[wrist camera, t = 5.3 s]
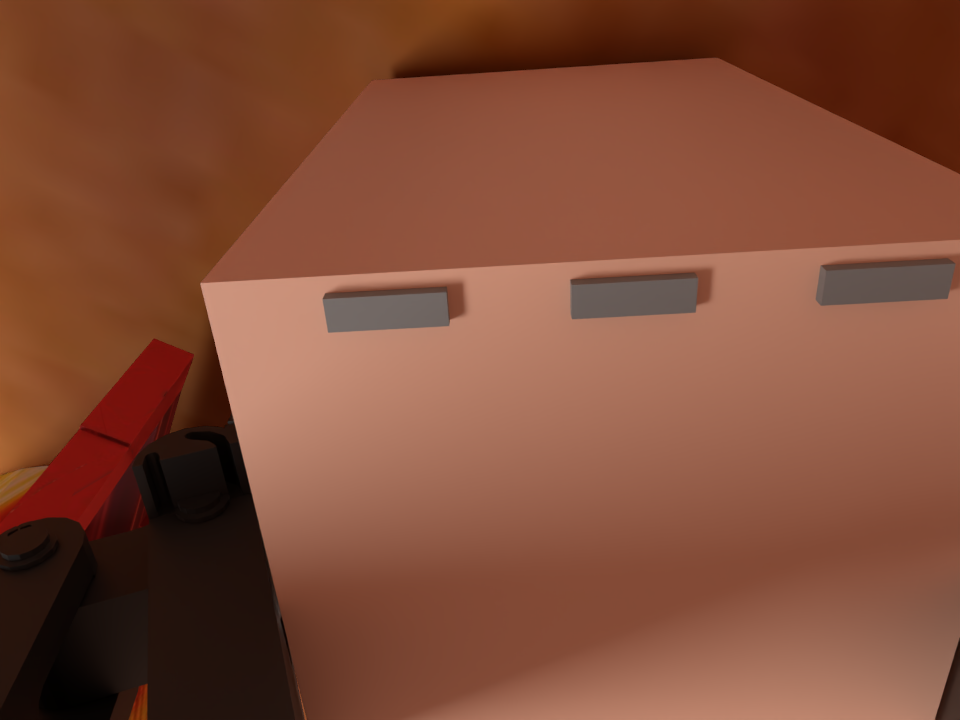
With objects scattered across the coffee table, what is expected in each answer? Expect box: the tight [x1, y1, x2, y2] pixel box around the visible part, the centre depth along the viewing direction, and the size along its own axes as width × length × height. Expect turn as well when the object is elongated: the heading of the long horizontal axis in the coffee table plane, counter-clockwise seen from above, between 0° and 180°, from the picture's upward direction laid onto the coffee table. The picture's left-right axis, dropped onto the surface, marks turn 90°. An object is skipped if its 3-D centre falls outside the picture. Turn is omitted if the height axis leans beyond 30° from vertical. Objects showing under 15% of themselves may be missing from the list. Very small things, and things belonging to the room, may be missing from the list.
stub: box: [200, 58, 960, 720], centre depth 13 cm, size 8×7×11 cm
